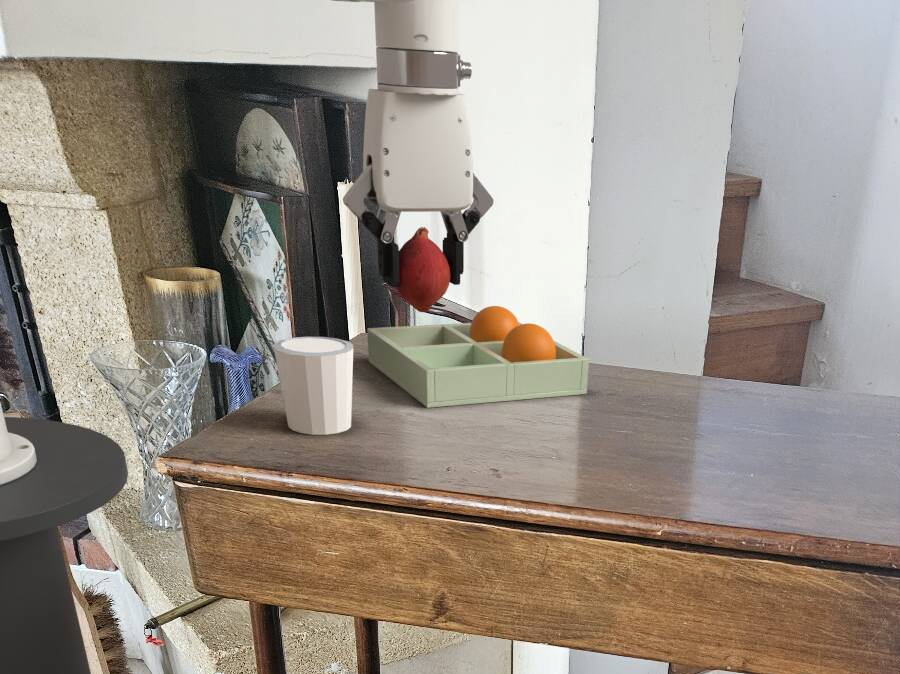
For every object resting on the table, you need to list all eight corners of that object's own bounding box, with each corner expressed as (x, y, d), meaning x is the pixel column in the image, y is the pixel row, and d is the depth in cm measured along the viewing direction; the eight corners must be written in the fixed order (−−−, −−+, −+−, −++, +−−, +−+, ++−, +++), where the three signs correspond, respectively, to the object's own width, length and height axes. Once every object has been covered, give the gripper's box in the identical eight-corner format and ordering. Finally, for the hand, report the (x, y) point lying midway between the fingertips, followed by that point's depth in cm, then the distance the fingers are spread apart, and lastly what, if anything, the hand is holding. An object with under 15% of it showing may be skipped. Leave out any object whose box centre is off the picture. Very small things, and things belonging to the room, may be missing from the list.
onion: (422, 321, 104) (421, 233, 100) (382, 311, 107) (378, 225, 103) (461, 313, 108) (461, 228, 104) (421, 304, 111) (419, 221, 106)
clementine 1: (481, 368, 111) (482, 313, 108) (461, 355, 115) (461, 301, 112) (528, 365, 113) (530, 310, 110) (507, 352, 117) (508, 299, 114)
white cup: (272, 434, 91) (263, 351, 87) (291, 411, 96) (284, 332, 92) (350, 439, 91) (345, 356, 87) (365, 416, 96) (360, 337, 93)
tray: (427, 408, 100) (426, 370, 98) (368, 362, 112) (367, 328, 110) (586, 394, 107) (589, 359, 105) (514, 352, 120) (515, 320, 118)
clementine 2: (515, 389, 105) (516, 331, 102) (492, 375, 109) (493, 319, 106) (563, 385, 107) (566, 328, 104) (539, 371, 111) (542, 316, 108)
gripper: (486, 76, 102) (483, 273, 112) (315, 67, 95) (329, 279, 105) (518, 80, 97) (513, 287, 107) (339, 71, 90) (351, 294, 100)
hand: (421, 281), depth 106 cm, fingers closed on onion, 5 cm apart
